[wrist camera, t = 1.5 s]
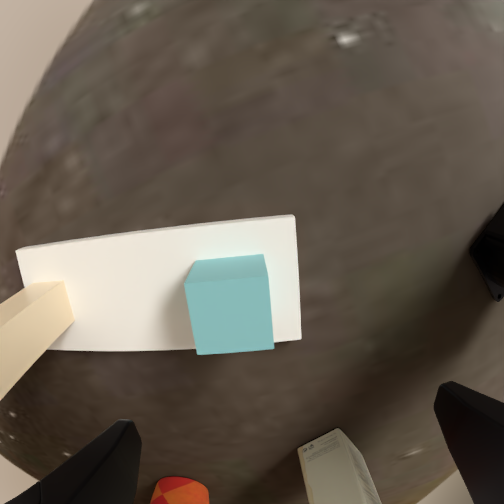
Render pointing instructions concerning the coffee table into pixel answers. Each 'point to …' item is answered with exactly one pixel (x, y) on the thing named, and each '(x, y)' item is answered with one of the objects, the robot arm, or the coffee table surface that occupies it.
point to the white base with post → (135, 289)
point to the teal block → (230, 305)
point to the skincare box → (336, 471)
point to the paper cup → (179, 491)
